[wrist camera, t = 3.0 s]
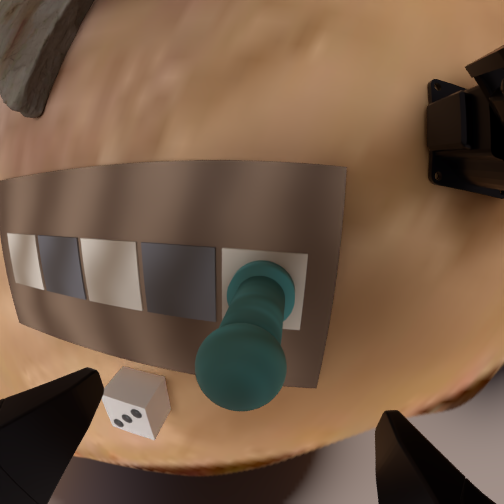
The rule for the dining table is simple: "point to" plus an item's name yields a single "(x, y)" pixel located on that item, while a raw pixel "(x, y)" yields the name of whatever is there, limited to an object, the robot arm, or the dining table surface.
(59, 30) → the marble piece
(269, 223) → the board
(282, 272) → the pawn
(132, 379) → the die
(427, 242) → the dining table surface
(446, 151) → the robot arm
